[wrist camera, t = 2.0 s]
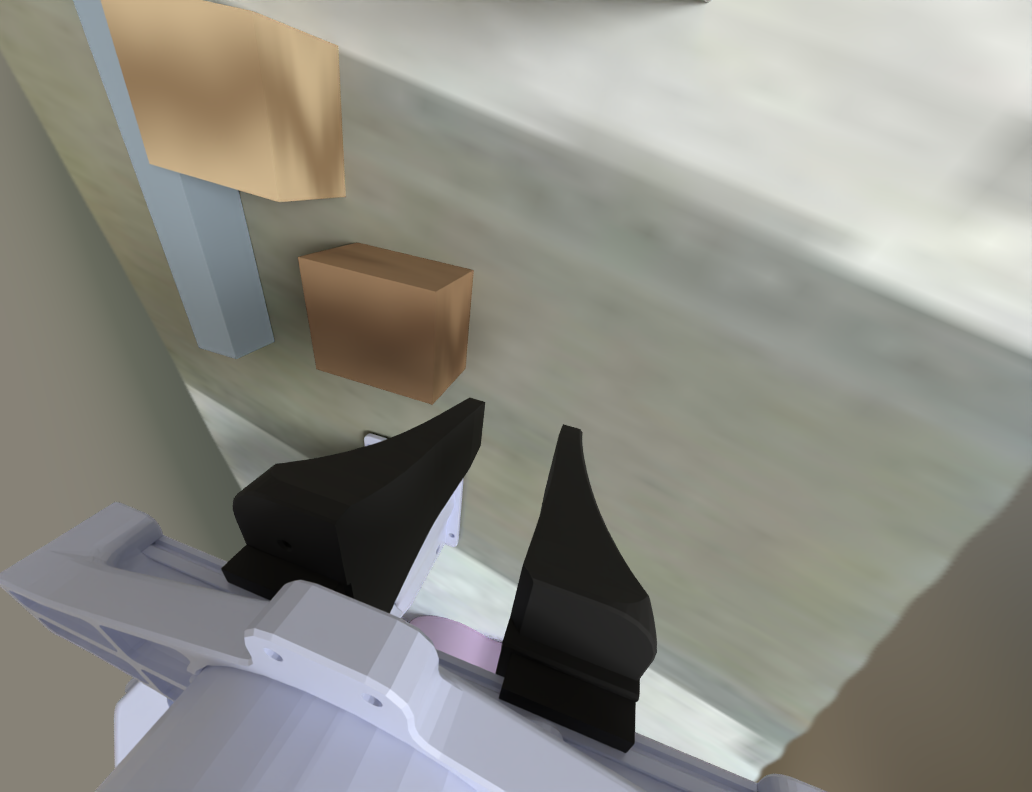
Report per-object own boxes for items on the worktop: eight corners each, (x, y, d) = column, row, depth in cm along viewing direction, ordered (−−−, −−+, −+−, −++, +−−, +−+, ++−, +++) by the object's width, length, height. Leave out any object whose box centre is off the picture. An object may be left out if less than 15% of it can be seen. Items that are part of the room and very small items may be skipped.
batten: (274, 341, 26) (236, 359, 24) (239, 331, 27) (199, 347, 25) (187, -24, 17) (108, -58, 14) (135, -29, 17) (50, -62, 15)
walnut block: (466, 367, 23) (432, 404, 19) (366, 339, 24) (316, 369, 21) (474, 269, 20) (435, 291, 16) (359, 241, 21) (297, 257, 17)
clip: (557, 637, 35) (540, 726, 30) (574, 703, 41) (563, 789, 35) (385, 604, 42) (344, 671, 37) (420, 665, 48) (389, 731, 42)
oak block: (347, 196, 20) (279, 202, 16) (237, 165, 21) (149, 163, 17) (340, 47, 17) (252, 11, 13) (210, 17, 18) (93, -23, 14)
